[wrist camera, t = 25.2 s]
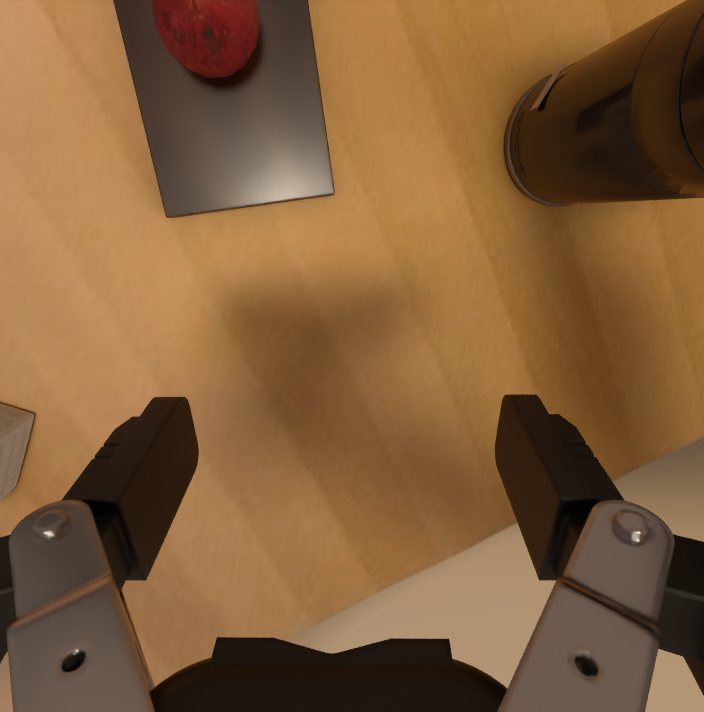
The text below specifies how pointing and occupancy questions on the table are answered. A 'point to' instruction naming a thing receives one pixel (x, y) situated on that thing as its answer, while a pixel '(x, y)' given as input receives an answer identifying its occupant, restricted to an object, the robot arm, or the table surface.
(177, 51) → the onion
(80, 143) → the table surface
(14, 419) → the white packaging box
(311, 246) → the table surface
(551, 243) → the table surface
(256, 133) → the walnut board
